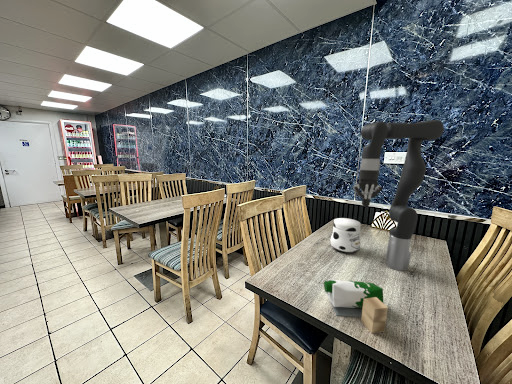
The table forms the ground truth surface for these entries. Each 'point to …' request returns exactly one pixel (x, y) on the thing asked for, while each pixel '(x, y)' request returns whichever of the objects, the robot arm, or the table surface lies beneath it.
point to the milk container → (346, 235)
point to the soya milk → (351, 293)
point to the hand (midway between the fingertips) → (365, 206)
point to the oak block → (374, 314)
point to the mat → (348, 311)
